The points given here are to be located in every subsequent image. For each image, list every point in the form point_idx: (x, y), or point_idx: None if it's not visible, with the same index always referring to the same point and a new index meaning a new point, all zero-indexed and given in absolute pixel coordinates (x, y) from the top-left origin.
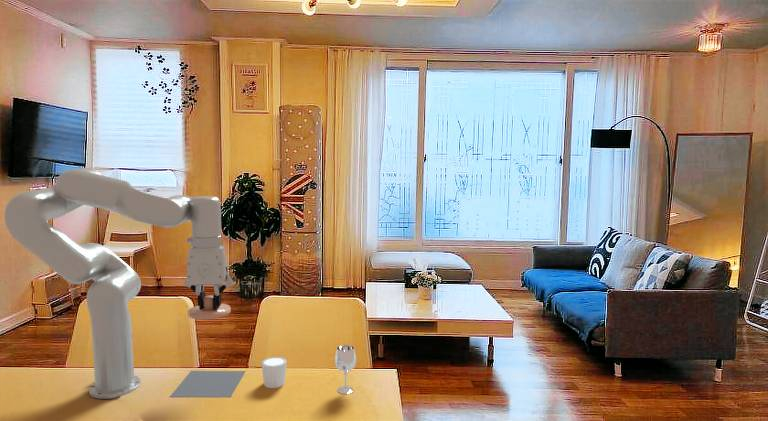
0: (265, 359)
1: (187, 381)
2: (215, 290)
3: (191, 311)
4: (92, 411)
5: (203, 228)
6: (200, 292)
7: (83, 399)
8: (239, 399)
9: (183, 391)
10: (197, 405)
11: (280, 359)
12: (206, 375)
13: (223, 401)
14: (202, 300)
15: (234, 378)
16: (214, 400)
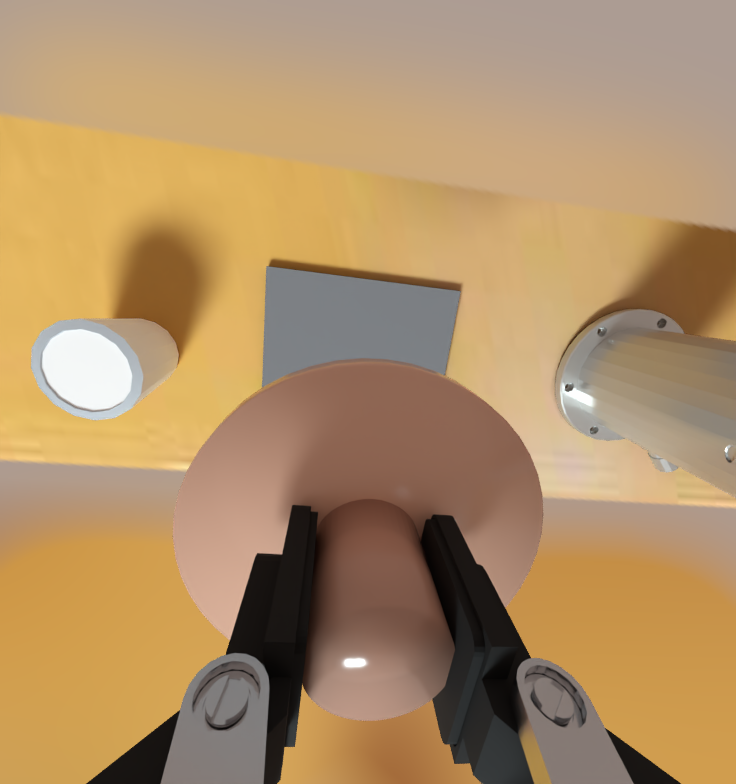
0: (133, 397)
1: None
2: (238, 769)
3: (515, 500)
4: (659, 237)
5: None
6: (517, 725)
7: (689, 318)
8: (238, 262)
9: (425, 324)
10: (365, 236)
11: (67, 393)
12: None
13: (288, 254)
14: (449, 602)
15: None
16: (319, 265)
